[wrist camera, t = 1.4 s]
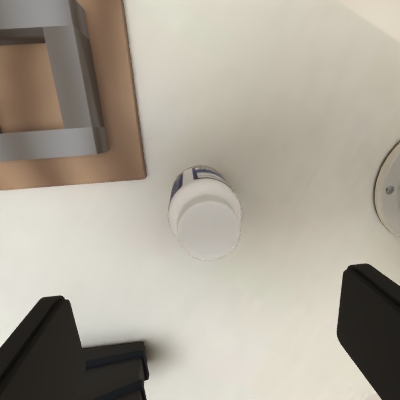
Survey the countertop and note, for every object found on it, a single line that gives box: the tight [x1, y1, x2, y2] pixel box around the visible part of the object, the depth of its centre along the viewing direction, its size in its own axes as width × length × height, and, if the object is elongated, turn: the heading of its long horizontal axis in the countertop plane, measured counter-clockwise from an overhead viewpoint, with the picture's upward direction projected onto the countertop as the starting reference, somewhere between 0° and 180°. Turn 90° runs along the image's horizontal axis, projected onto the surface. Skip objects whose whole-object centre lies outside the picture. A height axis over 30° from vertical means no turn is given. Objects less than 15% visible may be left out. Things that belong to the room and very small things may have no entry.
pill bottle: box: [168, 166, 242, 260], centre depth 20 cm, size 5×5×10 cm
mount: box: [0, 0, 146, 190], centre depth 19 cm, size 16×16×4 cm
